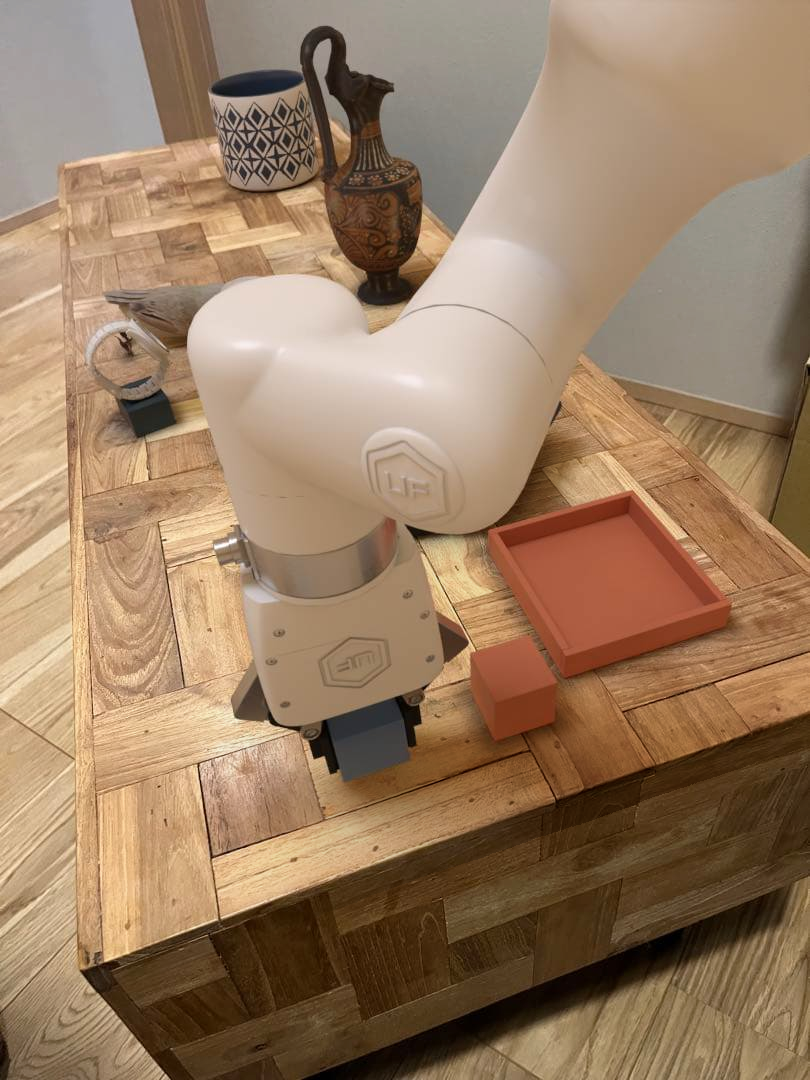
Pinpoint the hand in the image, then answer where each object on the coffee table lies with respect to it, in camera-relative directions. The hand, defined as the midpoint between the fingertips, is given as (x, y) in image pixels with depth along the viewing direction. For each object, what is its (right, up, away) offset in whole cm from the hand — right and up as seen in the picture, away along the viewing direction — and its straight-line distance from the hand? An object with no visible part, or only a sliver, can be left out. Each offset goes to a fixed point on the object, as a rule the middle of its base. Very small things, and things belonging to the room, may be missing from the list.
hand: (367, 740), depth 53 cm
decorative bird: (-24, +37, +48) cm, 65 cm away
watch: (-25, +26, +35) cm, 50 cm away
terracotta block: (+10, +1, +4) cm, 11 cm away
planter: (-20, +75, +88) cm, 117 cm away
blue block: (0, 0, 0) cm, 0 cm away
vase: (-1, +45, +53) cm, 69 cm away
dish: (+18, +9, +12) cm, 23 cm away
